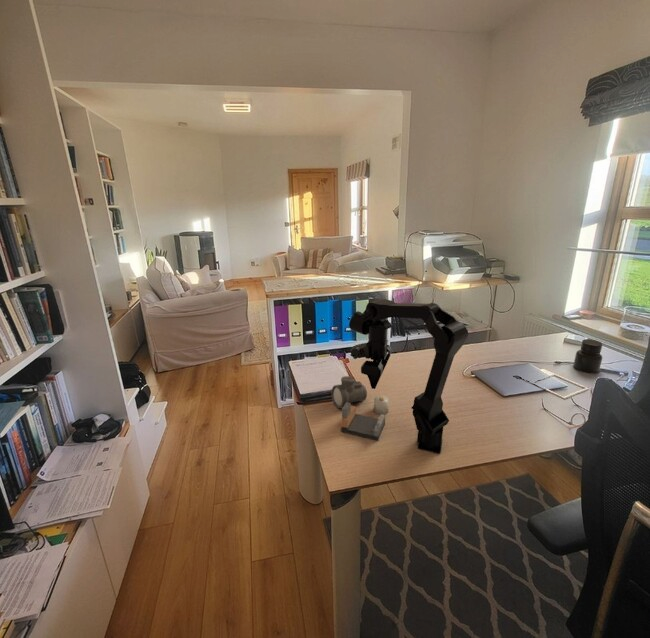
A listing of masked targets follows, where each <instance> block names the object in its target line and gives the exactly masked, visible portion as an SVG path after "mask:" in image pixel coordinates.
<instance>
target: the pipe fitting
mask: <svg viewBox="0 0 650 638" xmlns="http://www.w3.org/2000/svg"><path fill="white" fill-rule="evenodd" d="M340 381H341V384H335V385H333V387H332V389H331V401H332V403H333V405H334V406H335V408H337V409H342V408H343V407H344V405H345V403H346V402H348V403H351V404H353V403H357V402H361V401H365V400H366V399H367V397H368V391H367V388H366V386H365V385H364V384H362V382H361V381H356V378H355V377H354V376H349V375H345V376H342V377H341V378H340Z"/></svg>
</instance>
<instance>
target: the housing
mask: <svg viewBox="0 0 650 638" xmlns="http://www.w3.org/2000/svg"><path fill="white" fill-rule="evenodd" d="M389 404H390V399H389V398H388V397H387V396H385V395H378V396H377V395H376V396H375V397H374V400H373V412H374V413H375V414H376V415H379V416H380V415H381V414H383V415H385V416H386V415H387V414H388V413H389Z"/></svg>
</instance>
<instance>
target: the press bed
mask: <svg viewBox="0 0 650 638" xmlns="http://www.w3.org/2000/svg"><path fill="white" fill-rule="evenodd" d="M385 425H386V414H385V415H383V414H381V415H379V417H378V418H376V417H373V416H367V415H362V414H358V413H355V416H354V417H353V419H352V421H351V423H350V425H349V426H348V428H345V427H342V426H341V428H340V432H341V433H343V434H348V435H352V436H357V437H360V438H363V439H369V440H372V441H377V442H379V439H380V437H381V434H382V432H383V430H384V427H385Z"/></svg>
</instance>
